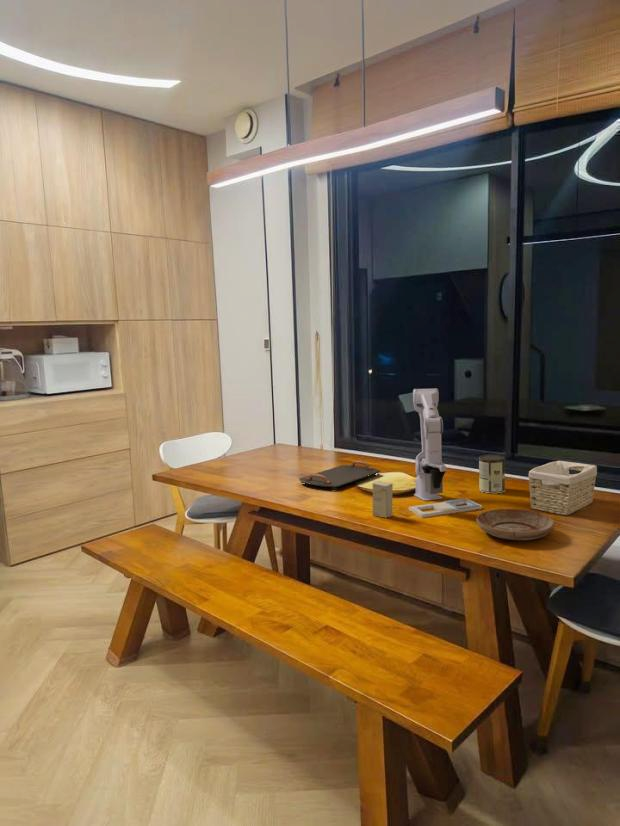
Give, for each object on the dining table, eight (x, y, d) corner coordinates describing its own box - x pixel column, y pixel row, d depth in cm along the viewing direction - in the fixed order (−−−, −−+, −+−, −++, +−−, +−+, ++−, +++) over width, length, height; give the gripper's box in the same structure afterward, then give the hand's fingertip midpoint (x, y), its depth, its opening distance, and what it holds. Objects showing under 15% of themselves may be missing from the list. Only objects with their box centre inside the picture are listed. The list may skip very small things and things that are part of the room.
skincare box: (372, 515, 206) (371, 483, 204) (379, 512, 209) (378, 480, 207) (386, 518, 202) (386, 485, 200) (393, 515, 205) (392, 483, 203)
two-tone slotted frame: (408, 509, 211) (408, 506, 210) (466, 501, 218) (466, 497, 218) (421, 517, 201) (421, 513, 201) (482, 508, 208) (482, 504, 208)
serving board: (347, 469, 281) (346, 457, 280) (385, 475, 265) (385, 462, 265) (293, 486, 253) (293, 472, 252) (333, 494, 237) (332, 480, 236)
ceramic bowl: (493, 517, 198) (494, 504, 198) (563, 530, 183) (564, 516, 182) (464, 536, 181) (464, 522, 180) (538, 553, 166) (538, 536, 165)
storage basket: (555, 495, 222) (556, 458, 220) (598, 503, 210) (599, 464, 208) (525, 509, 206) (526, 470, 204) (570, 518, 194) (571, 477, 192)
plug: (425, 491, 208) (424, 473, 207) (437, 490, 210) (437, 471, 209) (430, 494, 205) (430, 475, 204) (442, 492, 206) (442, 474, 205)
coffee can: (490, 486, 238) (490, 453, 236) (510, 491, 230) (510, 457, 228) (473, 490, 233) (473, 457, 231) (493, 495, 224) (493, 461, 222)
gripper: (414, 447, 211) (414, 482, 213) (433, 455, 197) (434, 492, 199) (431, 446, 213) (431, 480, 215) (451, 453, 199) (451, 490, 201)
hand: (433, 486), depth 207 cm, fingers closed on plug, 4 cm apart
